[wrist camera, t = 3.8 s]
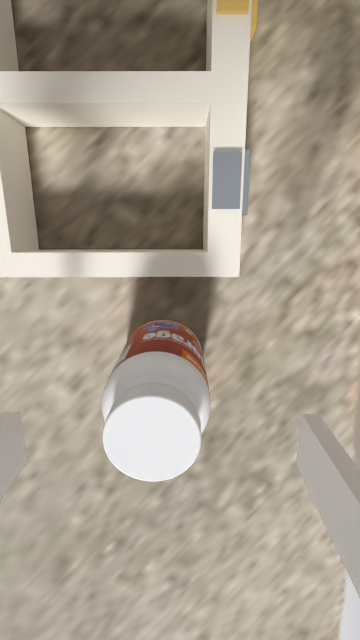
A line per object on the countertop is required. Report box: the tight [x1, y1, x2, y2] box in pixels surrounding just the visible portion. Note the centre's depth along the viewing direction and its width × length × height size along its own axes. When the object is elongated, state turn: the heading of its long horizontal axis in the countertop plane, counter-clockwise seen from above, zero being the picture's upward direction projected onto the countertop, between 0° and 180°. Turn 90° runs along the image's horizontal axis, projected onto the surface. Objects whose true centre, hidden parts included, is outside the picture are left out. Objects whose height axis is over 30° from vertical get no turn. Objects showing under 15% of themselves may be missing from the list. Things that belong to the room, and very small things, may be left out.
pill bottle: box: [102, 320, 211, 481], centre depth 20 cm, size 6×6×11 cm
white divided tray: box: [0, 0, 258, 277], centre depth 19 cm, size 16×20×4 cm
